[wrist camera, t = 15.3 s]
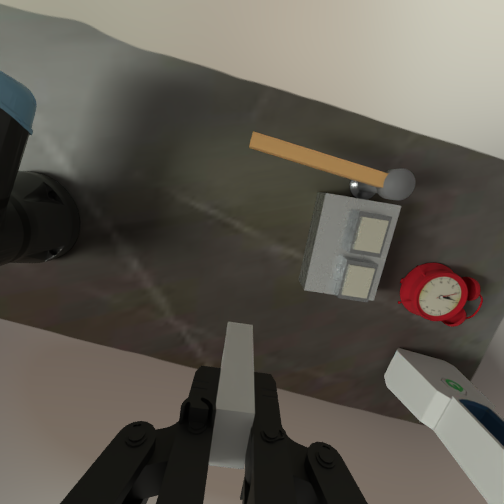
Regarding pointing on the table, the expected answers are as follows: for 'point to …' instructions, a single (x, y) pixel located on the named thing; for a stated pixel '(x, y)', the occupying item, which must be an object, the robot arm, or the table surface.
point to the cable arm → (340, 167)
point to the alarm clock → (438, 293)
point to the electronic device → (453, 416)
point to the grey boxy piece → (348, 244)
